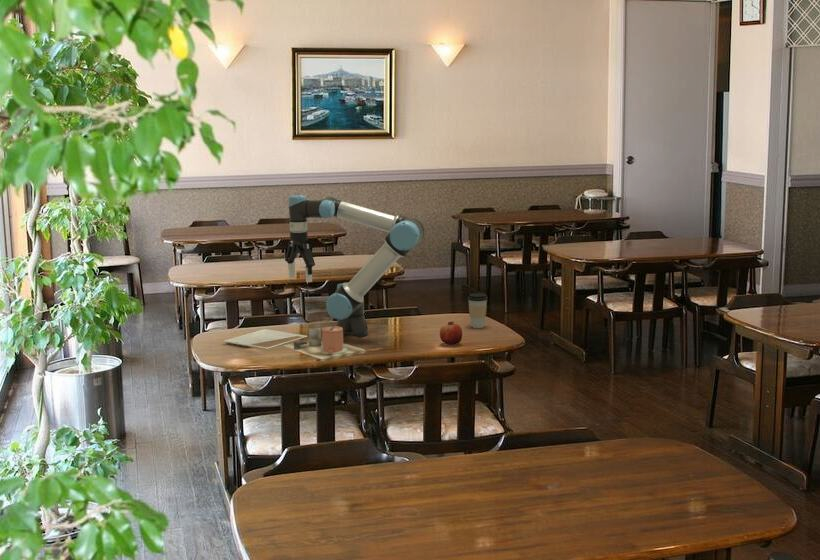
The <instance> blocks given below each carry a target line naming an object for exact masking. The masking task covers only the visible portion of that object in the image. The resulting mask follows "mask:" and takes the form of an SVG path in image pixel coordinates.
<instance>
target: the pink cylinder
mask: <svg viewBox="0 0 820 560" xmlns="http://www.w3.org/2000/svg"><path fill="white" fill-rule="evenodd" d="M321 330H322V332H321V338H322V339H323V351H325V352H328V354H333V353H334V352H339V351H342V350H343V343H344V335H343V328H342V327H338V326H336V325H332V326H325V327H322V328H321Z"/></svg>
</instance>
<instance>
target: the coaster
mask: <svg viewBox="0 0 820 560" xmlns="http://www.w3.org/2000/svg"><path fill="white" fill-rule="evenodd" d="M346 352H347V348H344V347H343V350H342V351H339V352H334V353H333V354H329V355H335V354H343V353H346ZM321 353H323V354H328V352H325V351H323V349H321Z"/></svg>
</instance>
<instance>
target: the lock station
mask: <svg viewBox="0 0 820 560" xmlns="http://www.w3.org/2000/svg"><path fill="white" fill-rule="evenodd" d="M321 330H322V328H320V327H311V328H310V327H309V328H308V340H303V339H301V340H296V341H293V343H287V344H283V345H282V347H283V348H284V347H285V348H287V349H289V350H293V351H296V352H298V353H302V354H305V355H308V356H310V357H313V358H316V361H317V362H320V363H323V362H328V361H333V360H337V359H344V358H347V357H352V356H355V355H361V354H365V353H366V351H367V350H366V349H363V348H361V347H358V346H354V345H351V344H348V343H344V342H343V347H344V348H347V352H346V353H343V354H335V355H329V354H323V353H321V349H323V339H322V332H321Z"/></svg>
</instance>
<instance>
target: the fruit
mask: <svg viewBox="0 0 820 560" xmlns="http://www.w3.org/2000/svg"><path fill="white" fill-rule="evenodd" d="M439 337H440V340H441V341H442V342H443V343H444V344H446V345H451V346H452V345H453V346H455V345H458V344H459V343H461V342H462V340H463V329H462V327H461V326H460V325H459V324H457V323H455V322H454V321H448V322H447V324H444V325H442V327H440V330H439Z"/></svg>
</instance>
